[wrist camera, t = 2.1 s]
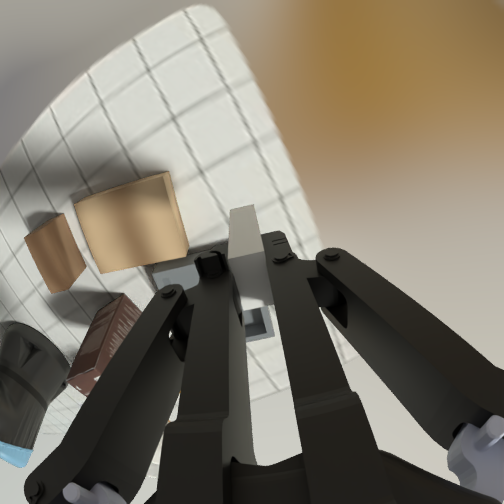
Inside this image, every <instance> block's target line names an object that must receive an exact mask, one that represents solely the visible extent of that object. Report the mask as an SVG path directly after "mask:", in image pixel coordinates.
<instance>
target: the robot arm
mask: <svg viewBox="0 0 504 504" xmlns="http://www.w3.org/2000/svg"><path fill="white" fill-rule="evenodd" d="M194 263H195V266H196V269H197V272H198V274H199V277H200V278H199V283H198V284H197V285H196V286H194V287H192V288H189V289H187V290H184V289H183V287H182V285H180V284H169V285H167V286H164V287H163V288H161V289H160V290H159V291H158V292H157V293H156V294H155V295H154V297H153V298H152V299H151V301H150V302H149V304H148V305H147V307H146V308H145V309H144V311H143V312H142V314H141V315H140V317H139V318H138V320H137V321H136V322H135V324H134V325H133V327H132V328H131V330H130V331H129V333H128V334H127V336H126V337H125V339H124V340H123V342H122V343H121V345H120V346H119V348H118V349H117V351H116V352H115V354H114V355H113V357H112V358H111V360H110V361H109V363H108V365H107V366H106V368H105V369H104V371H103V372H102V374H101V376H100V377H99V379H98V380H97V382H96V384H95V385H94V387H93V388H92V390H91V392H90V393H89V395H88V397H87V398H86V400H85V402H84V403H83V405H82V407H81V408H80V410H79V412H78V414H77V415H76V417H75V419H74V420H73V422H72V424H71V426H70V427H69V429H68V431H67V433H66V435H65V436H64V438H63V440H62V442H61V444H60V445H59V446H58V447H57V448H56V449H55V450H54V451H53V452H52V453H51V454H50V455H49V456H48V457H47V458H46V459H45V460H44V461H43V462H42V463H41V464H40V465H39V466H38V467H37V468H36V469H35V470H34V471H33V472H32V473H31V474H30V475H29V476H28V477H27V479H26V481H25V485H24V494H25V497H26V500H27V501H28V502H29V504H130V503H131V501H132V500H133V499H134V497H135V496H136V494H137V493H138V491H139V489H140V488H141V485H142V483H143V481H144V479H145V477H146V474H147V472H148V469H149V467H150V464H151V462H152V459H153V457H154V454H155V452H156V449H157V447H158V444H159V442H160V439H161V437H162V435H163V440H162V448H161V456H160V464H159V473H158V482H157V491H156V492H155V493H154V494H153V495H152V496H151V497H150V498H149V499H148V500H147V501H146V502H145V503H144V504H502V502H503V500H504V370H502V369H500V368H498V367H495V366H494V365H493V364H492V363H491V362H490V361H488V360H487V359H486V358H485V357H484V356H483V355H482V354H480V353H479V352H478V351H477V350H476V349H475V348H473V347H472V346H471V345H470V344H469V343H467V342H466V341H465V340H464V339H462V338H461V337H460V336H459V335H458V334H456V333H455V332H454V331H453V330H451V329H450V328H449V327H448V326H447V325H445V324H444V323H443V322H442V321H440V320H439V319H438V318H437V317H435V316H434V315H433V314H432V313H430V312H429V311H428V310H426V309H425V308H423V307H422V306H421V305H420V304H419V303H417V302H416V301H415V300H413V299H412V298H411V297H409V296H408V295H406V294H405V293H404V292H403V291H401V290H400V289H399V288H397V287H396V286H395V285H393V284H392V283H390V282H389V281H388V280H386V279H385V278H384V277H382V276H381V275H379V274H378V273H377V272H375V271H374V270H372V269H371V268H370V267H368V266H367V265H365V264H364V263H362V262H361V261H359V260H358V259H357V258H355V257H354V256H352V255H351V254H349V253H348V252H347V251H345V250H342V249H340V248H327V249H324V250H322V251H320V252H319V253H318V254H317V255H316V260H301V259H298V257H297V255H296V254H295V253H293V252H292V250H291V247H290V245H289V243H288V240H287V239H286V236H285V234H284V233H283V232H281V231H274V232H270V233H266V234H260V230H259V225H258V221H257V217H256V212H255V208H254V204H253V205H248V206H244V207H240V208H235V209H231V210H230V221H229V242H228V243H225V244H221V245H217V246H214V247H213V248H212V249H211V250H208V251H205V252H203V253H201V254H199V255H198V256H197V257H195V259H194ZM241 304H242V307H243V311H245V310H250V309H255V308H259V307H264V306H269V305H273V304H274V306H275V310H276V315H277V320H278V325H279V330H280V335H281V340H282V345H283V350H284V355H285V360H286V366H287V371H288V376H289V381H290V386H291V391H292V397H293V402H294V409H295V414H296V420H297V425H298V431H299V436H300V441H301V447H302V453H301V454H298V455H296V456H293V457H291V458H288V459H286V460H284V461H281V462H278V463H276V464H273V465H270V466H260V465H257V462H256V459H255V455H254V449H253V438H252V425H251V411H250V396H249V382H248V368H247V353H246V337H245V322H244V315H243V312H242V308H241ZM319 307H321V310H322V312H323V313H324V314H325V315H326V317H327V318H328V319H329V320H330V321H331V322H332V323H333V325H334V326H335V327H336V328H337V329H338V330H339V331H340V333H341V334H342V335H343V336H344V337H345V338H346V339H347V341H348V342H349V343H350V344H351V345H352V346H353V347H354V349H355V350H356V351H357V352H358V353H359V354H360V356H361V357H362V358H363V359H364V360H365V361H366V363H367V364H368V365H369V366H370V367H371V368H372V369H373V371H374V372H375V373H376V374H377V375H378V376H379V377H380V379H381V380H382V381H383V382H384V383H385V384H386V386H387V387H388V388H389V389H390V390H391V392H393V394H394V395H395V396H396V397H397V399H398V400H399V401H400V402H401V403H402V405H403V406H404V407H405V408H406V409H407V410H408V412H409V413H410V414H411V415H412V416H413V418H414V419H415V420H416V421H417V422H418V424H419V425H420V426H421V427H422V428H423V430H424V431H425V432H426V433H427V434H428V435H429V436H430V437H431V438H432V439H433V440H434V441H435V442H437V443H438V444H439V445H440V446H442V447H443V448H444V449H446V450H448V455H447V462H448V468H449V470H450V471H452V472H454V473H455V474H456V475H457V477H458V479H459V481H460V485H457V484H455V483H452V482H450V481H448V480H445V479H443V478H441V477H438V476H436V475H434V474H431V473H429V472H427V471H425V470H423V469H421V468H419V467H417V466H415V465H413V464H411V463H409V462H407V461H405V460H403V459H401V458H399V457H397V456H395V455H393V454H391V453H388V452H386V451H383V450H379V449H378V447H377V444H376V441H375V438H374V435H373V432H372V430H371V427H370V424H369V421H368V419H367V416H366V413H365V410H364V408H363V405H362V403H361V400H360V398H359V395H358V394H357V393H356V392H352V391H351V389H350V387H349V384H348V381H347V379H346V376H345V373H344V371H343V368H342V365H341V363H340V360H339V357H338V355H337V352H336V350H335V347H334V344H333V342H332V339H331V337H330V334H329V332H328V329H327V327H326V324H325V322H324V319H323V317H322V314H321V312H320V309H319ZM170 331H171V333H172V335H171V337H170V338H169V332H170ZM70 369H71V368H70V366H69V364H68V362H67V360H66V359H65V357H64V356H63V354H62V353H61V352H60V351H59V350H58V349H57V347H56V346H55V345H54V344H53V343H51V342H50V341H49V340H48V339H47V338H46V337H45V336H43V335H42V334H41V333H39V332H38V331H36V330H34V329H33V328H31V327H29V326H27V325H24V324H20V323H14V324H12V325H10V327H9V328H8V329H7V331H6V332H5V334H4V336H3V339H2V343H1V347H0V458H1V459H3V460H5V461H6V462H8V463H10V464H12V465H14V466H16V467H19V468H22V467H25V466H26V465H27V463H28V460H29V458H30V456H31V453H32V452H33V447H34V444H35V441H36V438H37V435H38V432H39V429H40V426H41V424H42V421H43V418H44V416H45V413H46V411H47V408H48V406H49V404H50V403H51V402H52V401H53V400H54V399H55V398H56V397H57V396H58V395H59V394H60V393H61V392H62V391H63V390H65V389H66V387H67V386H68V384H69V383H68V382H67V381H66V379H67V376H68V374H69V372H70ZM179 393H180V399H179V407H178V415H177V419H176V420H175V421H174V422H169V423H168V424H167V422H168V420H169V417H170V415H171V413H172V410H173V408H174V405H175V403H176V400H177V398H178V396H179ZM163 432H164V433H163Z"/></svg>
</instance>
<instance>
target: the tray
mask: <svg viewBox="0 0 504 504" xmlns="http://www.w3.org/2000/svg"><path fill="white" fill-rule="evenodd" d="M210 250H211V249H210ZM206 251H208V250H206ZM203 252H205V251H202V252H198V253H194V254H190V255H186V257H182V258H177V259H172V260H167V261H162V262H157V264H156V266H155V268H154V270H153V272H152V276H153V278H154V280H155V282H156V285H157V287H158V289H159V290H160V289H161V288H163V287H164V286H167V285H169V284H180V285H182V287H183V289H184V290H187V289H189V288H192V287H194V286H196V285H197V284H198V283H199V278H200V277H199V274H198V272H197V269H196V266H195V263H194V259H195V257H197V256H198V255H199V254H201V253H203ZM241 308H242V312H243V315H244V322H245V337H246V342H251V341H256V340H260V339H265V338H270V337H274V336H275V334H274V329H273V324H272V320H271V316H270V312H269V308H268V306H264V307H259V308H255V309H250V310H245V311H243V307H242V304H241Z"/></svg>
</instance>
